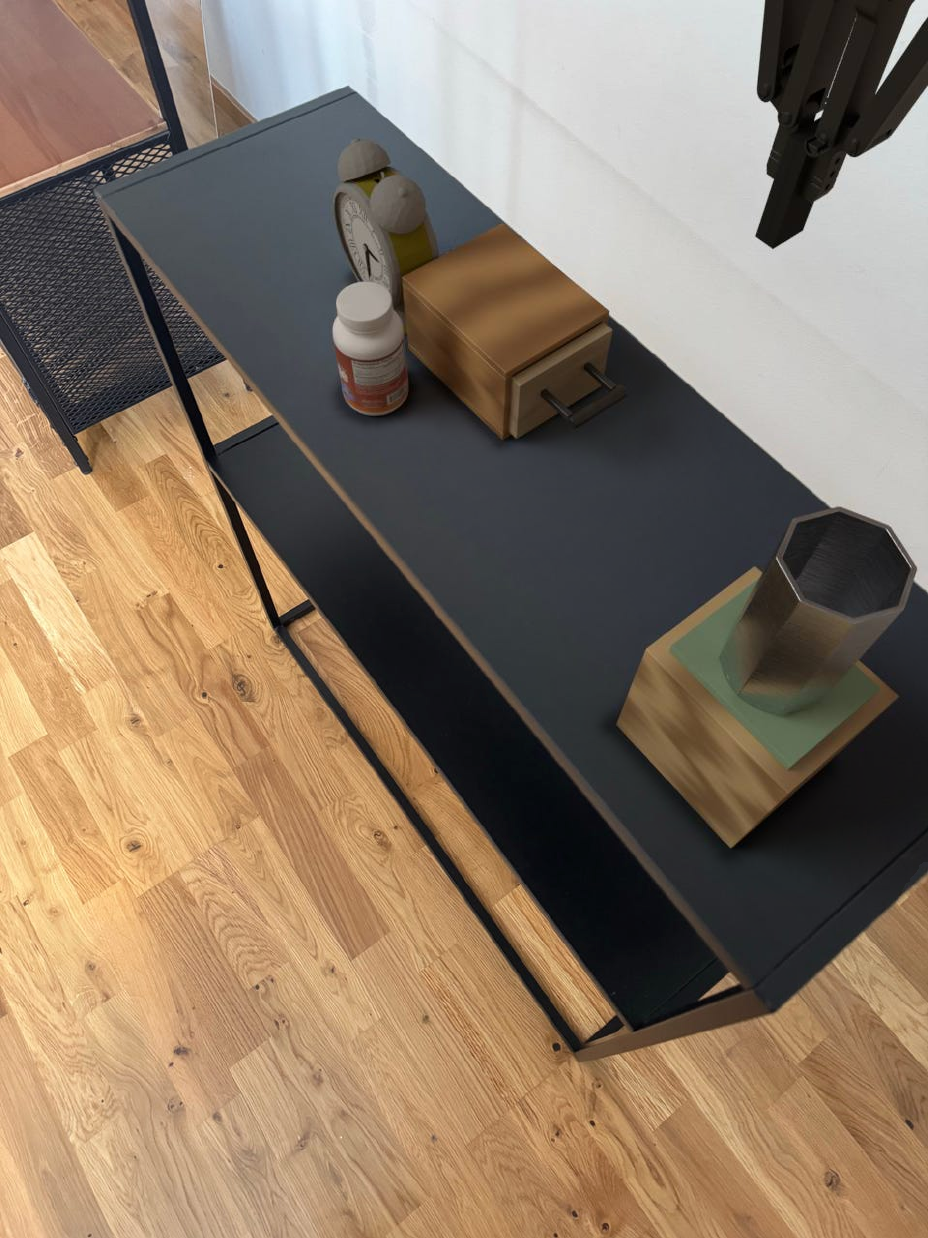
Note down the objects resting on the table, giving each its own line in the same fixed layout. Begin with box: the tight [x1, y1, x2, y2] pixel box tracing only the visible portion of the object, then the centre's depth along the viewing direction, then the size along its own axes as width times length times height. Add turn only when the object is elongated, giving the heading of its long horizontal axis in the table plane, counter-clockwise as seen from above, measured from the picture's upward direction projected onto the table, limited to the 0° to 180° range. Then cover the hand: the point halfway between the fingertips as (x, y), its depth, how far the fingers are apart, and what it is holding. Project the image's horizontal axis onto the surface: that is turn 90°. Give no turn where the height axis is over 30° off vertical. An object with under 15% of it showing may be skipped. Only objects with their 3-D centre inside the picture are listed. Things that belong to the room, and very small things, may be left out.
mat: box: [669, 578, 881, 770], centre depth 55 cm, size 10×8×1 cm
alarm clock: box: [332, 137, 440, 335], centre depth 83 cm, size 12×7×15 cm, turn 33°
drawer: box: [508, 322, 628, 440], centre depth 80 cm, size 18×10×7 cm, turn 38°
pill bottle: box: [332, 281, 409, 417], centre depth 78 cm, size 6×6×11 cm
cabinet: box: [402, 222, 610, 441], centre depth 81 cm, size 15×12×9 cm
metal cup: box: [719, 505, 918, 715], centre depth 49 cm, size 6×6×12 cm
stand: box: [615, 566, 900, 849], centre depth 61 cm, size 12×10×13 cm
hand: (779, 233), depth 54 cm, fingers closed
